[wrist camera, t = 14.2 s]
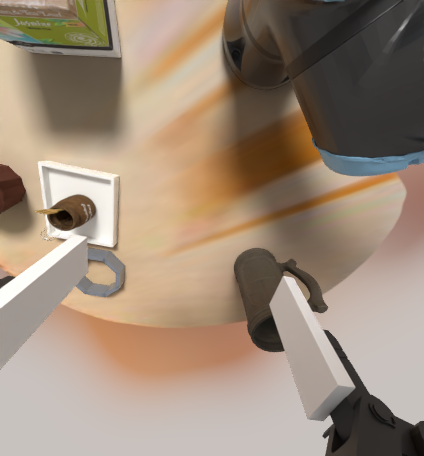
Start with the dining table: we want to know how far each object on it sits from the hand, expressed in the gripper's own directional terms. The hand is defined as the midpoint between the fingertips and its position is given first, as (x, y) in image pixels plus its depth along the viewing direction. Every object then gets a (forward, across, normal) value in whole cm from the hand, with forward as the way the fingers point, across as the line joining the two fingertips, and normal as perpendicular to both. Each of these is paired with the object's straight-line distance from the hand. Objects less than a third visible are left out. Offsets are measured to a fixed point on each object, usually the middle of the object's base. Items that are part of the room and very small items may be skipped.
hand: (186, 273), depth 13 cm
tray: (+31, -24, -11) cm, 41 cm away
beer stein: (+31, +19, -17) cm, 40 cm away
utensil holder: (+30, -24, -11) cm, 40 cm away
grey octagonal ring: (+31, -21, -28) cm, 47 cm away
